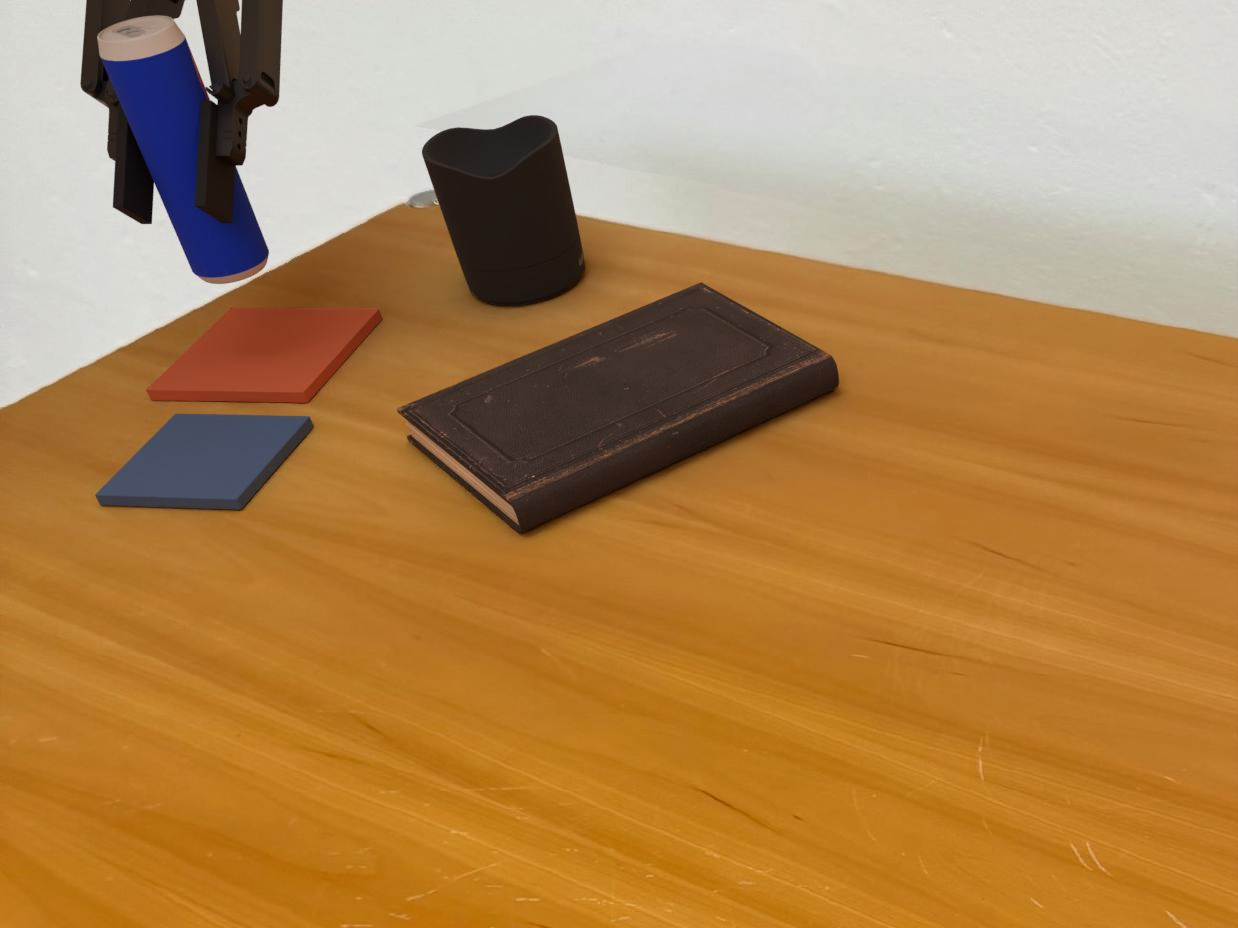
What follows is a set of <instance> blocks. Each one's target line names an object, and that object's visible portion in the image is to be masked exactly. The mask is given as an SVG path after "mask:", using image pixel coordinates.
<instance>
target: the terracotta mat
mask: <svg viewBox="0 0 1238 928" xmlns="http://www.w3.org/2000/svg"><path fill="white" fill-rule="evenodd" d="M382 320H383V316H382V313H381V310H380V308H374V307H373V308H372V307H371V308H370V307H369V308H363V307H361V308H360V307H359V308H354V307H353V308H352V307H351V308H346V307H345V308H344V307H332V308H331V307H328V308H327V307H230V308H229V309H228V310H227V311H226V312H224V314H222V316H221V317H219V319H217V320H216V321H215V323H213V324H212V325H211V326H210V327H209V328H207V330H206V331H205V332H204V333H203V334H202V335H201V336H199V338H198V339H197V340H196V341H195V342H194V343H192V345H190V346H189V348H187V350H186V351H184V352H183V354H181V355H180V356H179V357H178V358H177V359H176V360H175V361H174V362H173V363H172V364H171V365H170V366H169V367H168V368H167V369H166V370H165V371H164V372H163V373H162V374H160V376H158V377H157V378H156V379H155V380H154V381H153V383H151V384H150V385H149V386H148V387H147V388H146V390H145V391H146V393H147V394H148V397H149V399H150V400H151V401H177V402H178V401H179V402H181V401H183V402H185V401H186V402H232V403H233V402H235V403H236V402H237V403H238V402H239V403H240V402H241V403H242V402H243V403H294V404H295V403H297V404H299V403H300V404H308V403H309V402H310V401H311V400H312V398H314V396H316V394H317V393H318V392H319V391H320V390H321V388H323V386H324V385H325V384H326V383H327V382H328V381H329V379H331V378H332V376H333V375H334V374H335V373H336V372H337V371H338V369H339V368H340V367H341V366H342V365H343V364H344V363H345V361H346V360H347V359H348V358H349V357H350V356H351V355H352V354H353V353H354V351H355V350H356V349H357V348H358V347H359V346H360V345H361V344H362V342H364V340H365V339H366V338H367V337H368V336H369V335H370V334H371V332H373V330H374V329H375V328H376V327H377V326H378V324H380V323H381V322H382Z"/></svg>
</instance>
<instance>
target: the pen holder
mask: <svg viewBox="0 0 1238 928" xmlns="http://www.w3.org/2000/svg"><path fill="white" fill-rule="evenodd" d="M421 155H422V159H423V162H424V164H425V167H426V171H427V173H428V177H429V179H430V182H431V185H432V188H433V191H434V194H435V197H436V199H437V202H438V206H439V209H440V211H441V214H442V217H443V220H444V223H445V226H446V229H447V231H448V235H449V237H450V240H451V243H452V245H453V246H452V247H453V249H454V252H455V254H456V258H457V260H458V263H459V266H460V268H461V272H462V274H463V277H464V279H465V282H466V285H467V287H468V289H469V291H470V293H471V294H472V295H473V296H475V297H476V298H477V299H479V301H481V302H484V303H486V304H490V305H495V306H503V307H504V306H507V307H509V306H510V307H511V306H512V307H515V306H524V305H530V304H531V305H532V304H536V303H540V302H543V301H547V300H550V299H552V298H555V297H558V296H560V295H562V294H564V293H566V292H568V291H569V290H571V289H573V287H575V286H576V285H577V284H578V283H579V282H580V281H581V279H582V277H583V274H584V272H585V270H586V261H585V256H584V255H585V254H584V250H583V245H582V239H581V234H580V229H579V224H578V219H577V214H576V209H575V204H574V200H573V199H574V198H573V195H572V189H571V184H570V181H569V177H568V171H567V166H566V162H565V156H564V152H563V147H562V142H561V138H560V133H559V127H558V125H557V123H556V122H555V121H553V120H552V119H551V118H548V117H547V116H543V115H538V114H530V115H524V116H522V117H519V118H516V119H515V120H513V121H511V122H509V123H506V124H504V125H502V126H500V127H499V126H498V127H495V128H488V129H487V128H486V129H485V128H472V127H458V126H457V127H452V128H451V127H450V128H447V129H444V130H442V131H440V132H437V133H436V134H434V135H432V136H431V137H430V138H429V139H427V141H426V142H425V143H424V144H423V147H422V149H421Z"/></svg>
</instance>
